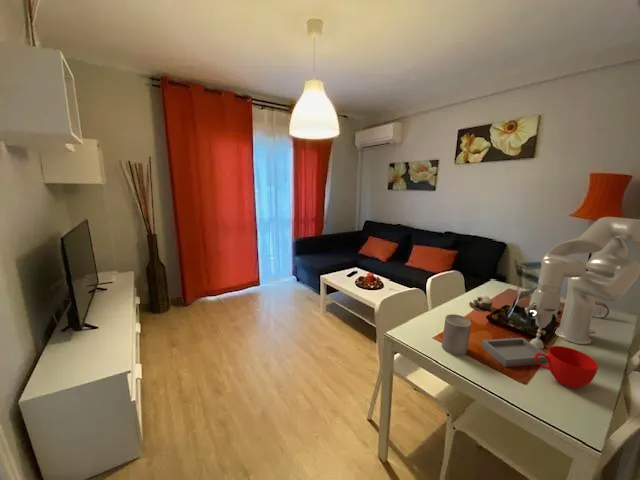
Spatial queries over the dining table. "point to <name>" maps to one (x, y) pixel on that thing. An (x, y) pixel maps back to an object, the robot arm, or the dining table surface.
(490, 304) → the skull
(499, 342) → the tray
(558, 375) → the ceramic cup
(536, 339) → the chalice
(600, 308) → the tin
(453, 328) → the pillar candle
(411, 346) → the dining table surface
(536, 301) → the robot arm
